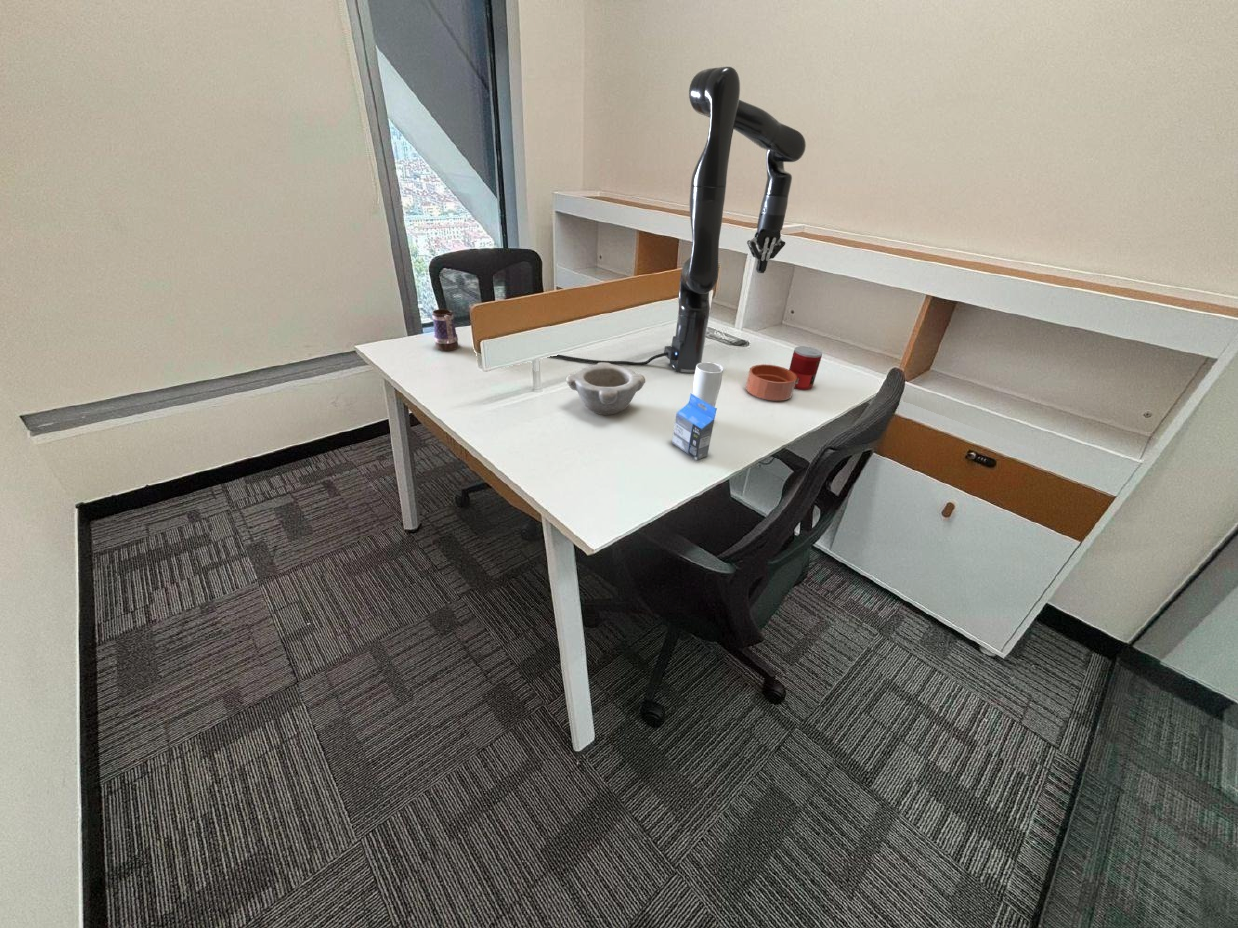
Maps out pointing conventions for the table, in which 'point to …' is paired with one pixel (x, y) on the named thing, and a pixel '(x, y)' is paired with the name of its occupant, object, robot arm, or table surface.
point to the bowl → (771, 382)
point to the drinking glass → (707, 382)
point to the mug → (444, 330)
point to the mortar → (606, 387)
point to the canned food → (805, 366)
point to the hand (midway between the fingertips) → (760, 272)
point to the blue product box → (694, 427)
